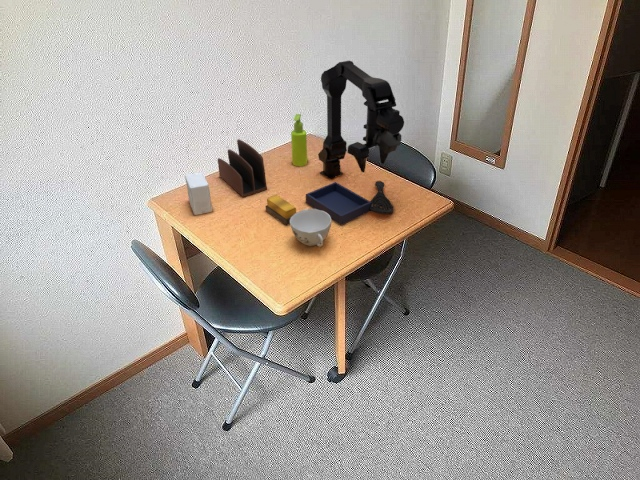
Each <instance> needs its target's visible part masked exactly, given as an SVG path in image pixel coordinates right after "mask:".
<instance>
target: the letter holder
mask: <svg viewBox="0 0 640 480" xmlns="http://www.w3.org/2000/svg"><path fill="white" fill-rule="evenodd" d="M236 144H237V150H238V153H237V152H236V151H234V150H232V149H230V148H229V149H227V156H228V158H227V159H228V162H227V161H225V160H224V159H222V158H220V157H218V158H217V164H218V174H219V177H220V178H221V179H222V180H223V181H224V182H226V184H228V185H229V186H230V187H231V188H232V189H233V190H234V191H235V192H237V193H238V194H239V195H240V196H241V197H242V198H245V197H249V196H252V195H255V194H258V193H260V192H263V191H266V190H267V189H268V187H267V179H266V178H267V177H266V170H265V169H266V168H265V164H264V163H265V162H264V157H263V155H262V154H261V153H260V152H258V151H257V150H256V149H255V148H254V147H252V146H251V145H250V144H248V143H247V142H245V141H243V140H241V139H240V138H238V139H237V140H236Z"/></svg>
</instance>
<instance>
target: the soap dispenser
mask: <svg viewBox="0 0 640 480" xmlns="http://www.w3.org/2000/svg"><path fill="white" fill-rule="evenodd" d="M301 117H302V114H301V113H296V114H295V115H294V117H293V121H294V122H293V130H292V131H291V132H290V139H291V158H292V165H293V166H295V167H305V166H306V165H307V164H308V142H307V131H306V130H305V129H304V123H303V122H302V121H301Z"/></svg>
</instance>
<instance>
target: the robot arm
mask: <svg viewBox="0 0 640 480" xmlns="http://www.w3.org/2000/svg"><path fill="white" fill-rule="evenodd" d="M347 81H349V82H350V83H351V84H352V85H354V86H355V87H356V88H358V89H359V90H360V91H361V96H362V97H363V98H364V99H365V101H364V102H363V105H364V106H365V107H367V108H366V123H365V124H363V129H365V135H364V136H363V137H362V141H364V142H365V143H362V142H359V141H355V142H353V143H351V144H349V145H348V146H347V144H348V143H347V141H346V140H345V139H344V137H343V135H342V97H343V94H344V92H345V90H346V88H347ZM320 82H321V88H322V90H323V91H324V93H325V95H326V122H327V123H326V124H327V125H326V127H327V135H326V136H325V138H324V140H323V141H322V143H323V144H322V149H321V150H320V152H318V154H317V157H318V160H319V161H321V162H322V171H320V172H319V174H321V175H322V176H324V177H325V178H327V179H330V180H332V179H334V178H337V177H340V176H342V175H344V172H343V171H341V160H344V159H345V157H346V154H349V155H351V156H353V157H354V159H355V161H356V163H357V165H358V168H359V169H360V172H362V174H363V173H365V172H366V165H367V159H368V158H370V155H369V154H370V150H372V149H374V148H377V147H378V150H379V151H378V152H379V157H380V158H379V159H380V163H381V165H384V164H385V163H386V161H387V158H388V156H389V154H390V153H392V152H395V151H396V150H397V148H398V146H401V145H402V134H401V133H400V132H401V131H402V130H403V128H404V125H405V119H404V117H403V116H402V115H400V113H401V111H400V110H398V109H396V108H394V107H397V102H396V97H395V95H394V93H393V90H392V87H391V84H390V83H389V81H388V80H385V79H382V78H381V77H374V76H371V75H369V74H368V73H367V72H366V71H364V70H362V69H361V68H360V67H358V66H357V65H356V64H354V61H353V60H344V61H339V62H338V63H336V64H335V65H334V66H332V67H330V68H329V69H326V70H324V71H323V72H322V73H321V75H320Z"/></svg>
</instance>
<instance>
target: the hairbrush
mask: <svg viewBox="0 0 640 480" xmlns="http://www.w3.org/2000/svg"><path fill="white" fill-rule="evenodd" d="M374 185H375V187H376V189H377V192H376V193H375V195H374V196H373V197H372V199H371V200H369V201H370V202H372V205H371V208H370V212H372V213H374V214H383V215H391V214H393V213H394V205H393V203H392V200H391V198H389V197H388V196H387V195H386V194H385V191H384V188H385V182H384V181H381V180H377V181H375V182H374Z"/></svg>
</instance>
